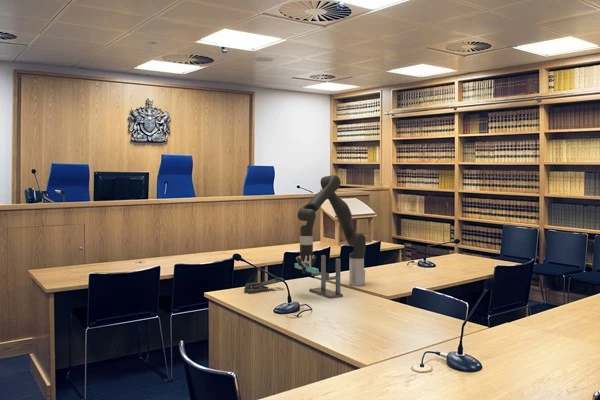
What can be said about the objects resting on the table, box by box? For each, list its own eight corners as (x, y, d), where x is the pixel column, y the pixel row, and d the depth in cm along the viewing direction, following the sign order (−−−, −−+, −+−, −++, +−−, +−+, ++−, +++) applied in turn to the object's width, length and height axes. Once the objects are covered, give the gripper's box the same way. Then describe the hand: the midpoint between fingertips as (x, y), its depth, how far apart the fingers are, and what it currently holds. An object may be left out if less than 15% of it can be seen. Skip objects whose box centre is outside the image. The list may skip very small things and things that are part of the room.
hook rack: (321, 289, 325) (321, 254, 324) (342, 296, 307) (343, 259, 306) (309, 291, 321) (309, 255, 320) (330, 298, 302) (330, 261, 301)
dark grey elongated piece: (285, 279, 324) (247, 283, 312) (285, 290, 324) (247, 294, 313) (279, 276, 332) (242, 280, 320) (279, 287, 332) (242, 291, 321)
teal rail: (298, 267, 316) (298, 263, 316) (318, 273, 297) (318, 268, 297) (294, 267, 315) (294, 263, 314) (315, 273, 296) (315, 269, 296)
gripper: (313, 242, 312) (312, 271, 313) (292, 243, 305) (292, 273, 306) (320, 243, 306) (319, 273, 306) (299, 245, 298) (299, 275, 299)
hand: (306, 273), depth 306 cm, fingers closed on teal rail, 2 cm apart
